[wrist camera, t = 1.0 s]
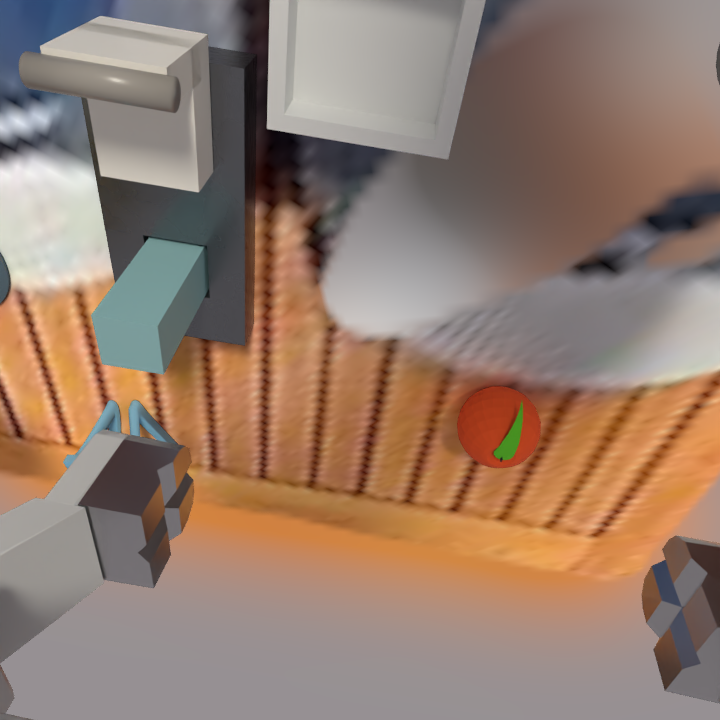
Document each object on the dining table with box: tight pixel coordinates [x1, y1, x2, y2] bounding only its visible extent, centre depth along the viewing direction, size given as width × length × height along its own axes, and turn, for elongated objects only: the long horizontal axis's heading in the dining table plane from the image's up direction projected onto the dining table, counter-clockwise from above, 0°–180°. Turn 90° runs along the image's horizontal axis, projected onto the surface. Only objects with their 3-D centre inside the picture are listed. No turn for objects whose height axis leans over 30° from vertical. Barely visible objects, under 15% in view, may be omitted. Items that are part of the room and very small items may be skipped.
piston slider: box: [19, 16, 213, 192], centre depth 32 cm, size 8×7×8 cm
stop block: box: [91, 236, 209, 374], centre depth 41 cm, size 4×4×12 cm
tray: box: [267, 0, 486, 160], centre depth 33 cm, size 11×11×4 cm
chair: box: [63, 400, 177, 469], centre depth 56 cm, size 8×8×12 cm
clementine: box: [457, 386, 541, 468], centre depth 50 cm, size 8×7×7 cm
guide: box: [81, 47, 257, 346], centre depth 42 cm, size 21×10×3 cm, turn 172°
